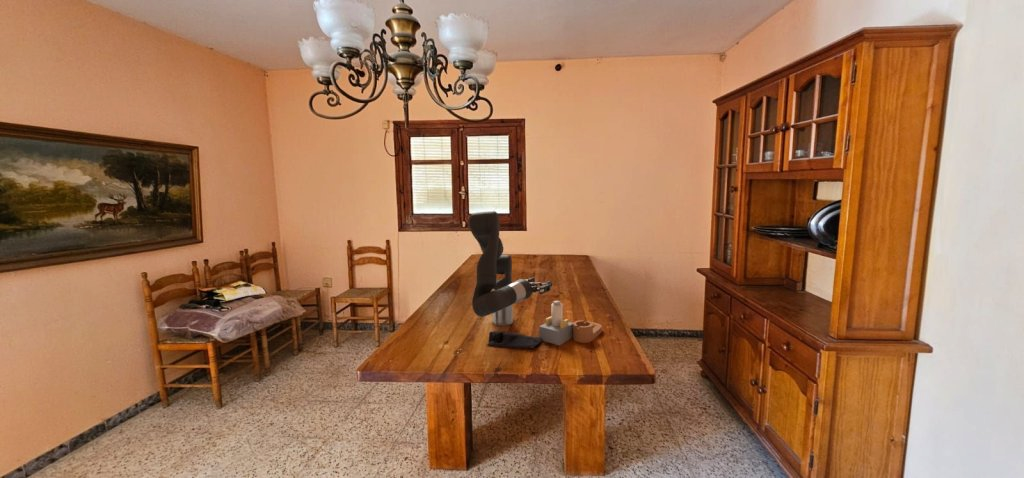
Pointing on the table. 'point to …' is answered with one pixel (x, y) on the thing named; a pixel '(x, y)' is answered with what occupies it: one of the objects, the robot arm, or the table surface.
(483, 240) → the robot arm
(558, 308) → the white bottle
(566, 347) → the table surface
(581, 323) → the bracket
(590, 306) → the table surface
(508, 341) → the dark slate chunk
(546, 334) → the block
